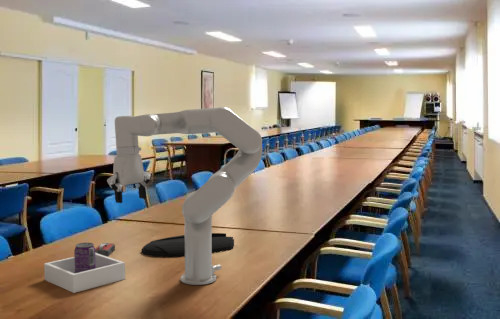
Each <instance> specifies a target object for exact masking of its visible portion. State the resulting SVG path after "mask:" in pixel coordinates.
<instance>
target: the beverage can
mask: <svg viewBox="0 0 500 319" xmlns="http://www.w3.org/2000/svg"><path fill="white" fill-rule="evenodd" d="M95 248H96V247H95V246H94V243H93V242H79V243H77V244H75V248H74V249H73V250H74V252H73V254H74V256H73V257H74V258H75V273H79V272H83V271H88V270H92V269H96V261H95Z"/></svg>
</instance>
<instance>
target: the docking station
mask: <svg viewBox="0 0 500 319" xmlns="http://www.w3.org/2000/svg"><path fill="white" fill-rule="evenodd" d="M234 247H235V238H234V237H233V236H227V233H226V232H225V233H221V232H212V254H215V253H214V252H216V253H221V252H220V251H222V252H227V251H226V250H228V251H231V250H232V249H234ZM140 252H141V254H142V255H144V256H147V257H152V258H182V256H184V257H185V234H183V235H182V234H181V235H176V236H175V235H174V236H169V237H163V238H160V239H156V240H152V241H150V242H148V243H146V244H144V246H142V248H141V251H140Z"/></svg>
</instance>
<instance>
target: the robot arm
mask: <svg viewBox="0 0 500 319" xmlns="http://www.w3.org/2000/svg"><path fill="white" fill-rule="evenodd" d="M114 133H115V144H116V145H115V147H116V155H115V156H114V159H113V169H112V170H113V171H112V172H113V174H112V175H111V176H110V177H108V178H107V179H106V182H107V185H109V188H110V189H111V190H112V191H113V192H114V200H115V203H117V204H122V203H123V192H122V191H121V190H122V188H123V186H129V185H134V184H136V185H138V198H139V199H143V200H145V199H146V198H147V197H146V196H147V193H146V192H147V190H146V188H147V187H148V184H149V182H150V179H151V176H152V174H151V173H149V172H147V171H145V170H144V165H143V159H142V156H141V154H140V152H141V151H142V148H141V147H140V146H139V136H140V137H152V136H157V135H169V134H182V135H199V134H200V135H201V134H211V133H218V134H219V135H220V136H222V138H224V139H225V140H226V141H228V142H229V143H231V144H232V145H233V146H235V148H237V149H238V151H237V152H236V154H235V155H234V156H233V157H232V158H231V159H230V160H229V161H228V162H227V163H226V164H225V165H224V166H222V167H221V168H220V169H219V170H217V171H216V172H215V173H213V174H212V175H211V176H210V177H209V178H208V180H207V181H206V182H205V183H204V184H203V185H201V186H200V187H199V188H198V189H197V190H195V191H192V192H190V193H189V194H188V195H187V196H186V197H185V199H184V201H183V203H182V206H181V212H182V216H183V218H184V235H185V256H184V273H183V274H182V275H181V276H180V282H182V283H183V284H186V285H191V286H202V285H203V286H205V285H209V284H211V283H214V282H215V281H216V280H217V275H216V274H215V272H216V271H220V270H222V265H221V264H216V265H214V264H212V263H213V260H212V259H213V258H212V257H213V256H212V255H213V253H212V233H213V231H212V229H213V228H212V227H213V226H212V225H213V224H212V223H213V221H212V220H213V215H214V214H215V213H216V212H217V211H218V210H219V209H221V208H222V207H223V206H224V205H225V204H227V202H229V201H230V200H231V198H232V197H233V195H234V194H235V190H236V189H237V188H238V187H239V186H240V185H241V184H242V183H243V182H245V180H246V179H247V178H248V177H250V175H252V173H254V171H255V170H256V169H257V167H258V166H259V165H260V162H261V160H262V156H263V138H262V135H261V133H260V132H259V131H258V130H257V129H255V128H253V126H251V125H249V124H248V123H247V122H246V121H245V120H244V119H242V118H241V117H240V116H238V115H237V114H236V113H235V112H234V111H233V110H231V109H230V108H229V107H225V106H221V107H209V108H197V109H196V108H195V109H185V110H181V111H174V112H164V113H152V114H151V113H145V114H142V115H141V114H139V115H136V116H134V115H120V116H116V117H115V118H114Z"/></svg>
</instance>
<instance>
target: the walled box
mask: <svg viewBox="0 0 500 319" xmlns="http://www.w3.org/2000/svg"><path fill="white" fill-rule="evenodd" d="M95 261H96V269H92V270H88V271H83V272H79V273H75V258H74V256H71V257H67V258H63V259H59V260H53V261H50V262H49V261H48V262H45V263H43V265H44V280H45V281H46V282H48V283H51V284H53V285H54V286H55V285H56V286H58V287H60V288H62V289H65V291H68V292H71V293H73V294H75V293H78V292H81V291H82V292H83V291H86V290H89V289H93V288H97V287H100V286H104V285H108V284H113V283H115V282H119V281H120V282H121V281H123V280H126V262H124V261H121V260H118V259H116V258H112V257H110V256H108V257H107V256H104V255H101V254H98V253H95Z"/></svg>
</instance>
